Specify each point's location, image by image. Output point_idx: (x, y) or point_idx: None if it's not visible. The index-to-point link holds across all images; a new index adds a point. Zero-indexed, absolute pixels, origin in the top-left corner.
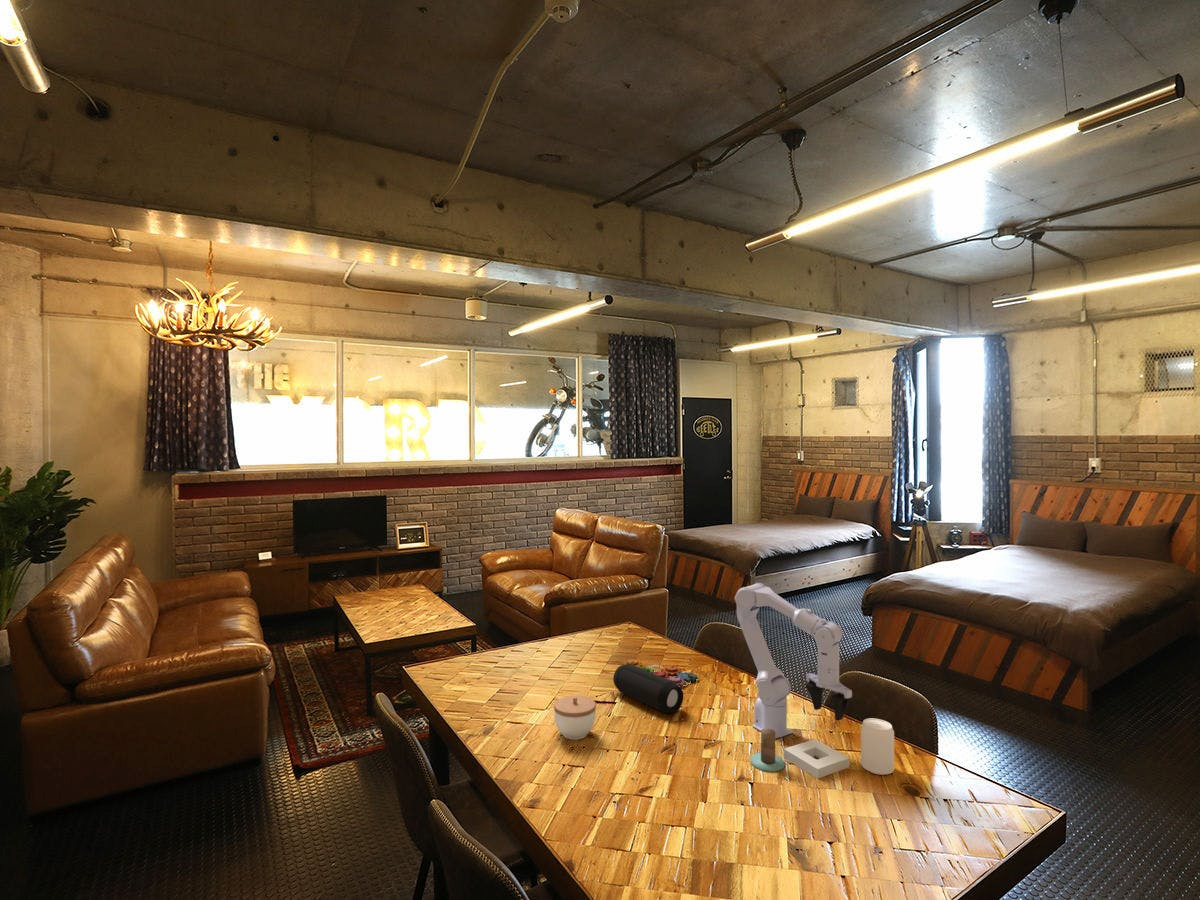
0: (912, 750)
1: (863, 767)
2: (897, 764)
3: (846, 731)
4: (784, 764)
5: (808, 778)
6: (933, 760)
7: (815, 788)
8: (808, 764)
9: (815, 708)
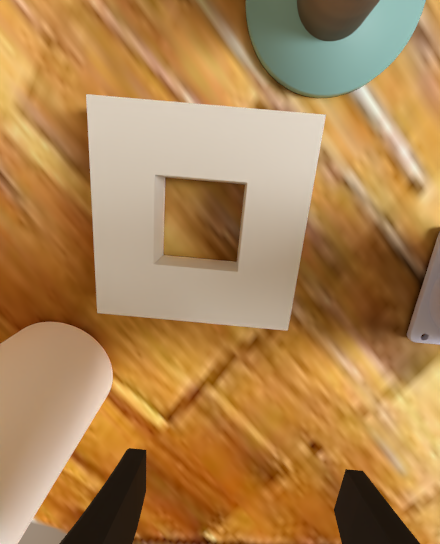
0: None
1: (74, 326)
2: None
3: (282, 482)
4: (257, 49)
5: (128, 72)
6: None
7: (53, 23)
8: (149, 101)
9: (355, 480)
